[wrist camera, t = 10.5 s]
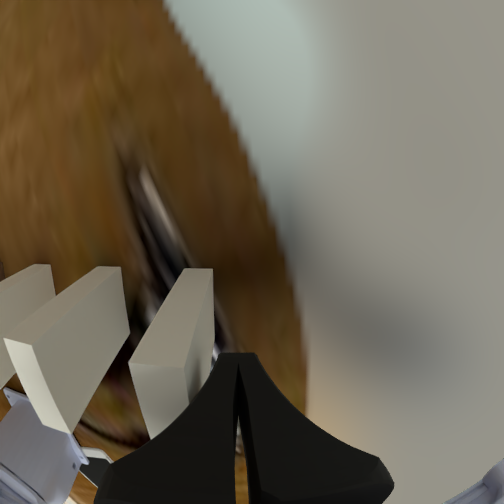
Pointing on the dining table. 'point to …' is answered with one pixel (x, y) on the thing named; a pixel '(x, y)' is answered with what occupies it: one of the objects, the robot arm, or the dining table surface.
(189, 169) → the dining table surface
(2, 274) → the walnut domino
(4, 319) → the ivory domino
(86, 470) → the smartphone
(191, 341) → the ivory domino
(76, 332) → the ivory domino
